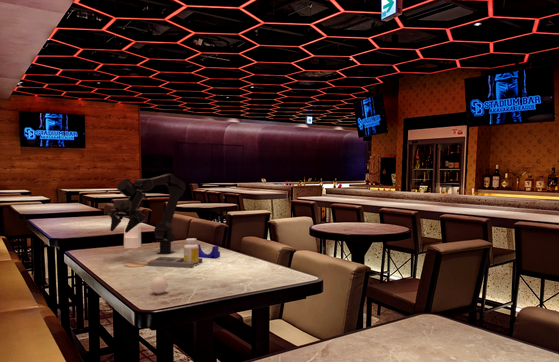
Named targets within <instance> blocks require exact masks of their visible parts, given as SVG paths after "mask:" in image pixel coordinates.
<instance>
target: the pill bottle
mask: <svg viewBox="0 0 559 362" xmlns="http://www.w3.org/2000/svg"><path fill="white" fill-rule="evenodd" d="M185 243H186V244H185V245H183V258H184V262H183V263H194V267H195V266H198V265H199V264H200V263H199V246H198V245H197V238H194V237H193V238H189V237H188V238H186V239H185Z"/></svg>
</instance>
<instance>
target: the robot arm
mask: <svg viewBox="0 0 559 362" xmlns="http://www.w3.org/2000/svg"><path fill="white" fill-rule="evenodd" d="M163 184H165V185H166V186H167V188H168V194H169V196H168V200H167V203H166V207H165V209H164V213H163V215H162V219H161V221H160V222H156V224H155V227H154V229H153V235H154V238H155V241H156V242H159V251H157V252H156V254H160V255H161V254H162V255H163V254H164V255H169V254H172V253H174V252H175V251H174V250H172V243H173V242H175V241H176V235H175V234H174V233H173V225H172V222H173V218H174V216H175V211H176V208H177V206H178V203H179V198H181V197H182V196H183V195H184V194H185V191H186V188H187V185H186V183H185V182H184V181H183V180H182V179H180V178H179V177H177V176H176V175H174V174H173V173H165V174H162V175H159V176H155V177H151V178H140V179H135V180H134V182H132V181H131V180H130V179H129V178H124V179H123V180H122V181H120V182H119V183H118V184H117V185H116V190H118V192H119V193H121V194H122V195H123V196H124V197H126V198H128V199H123V200H113V205H112V209H109V211H108V212H107V214H108V215H109V217H110V219H111V223H110V231H111V232H114V231H115V230H116V228H117V227H118V226H119V225H120V223H121V222H122V220H123V219H124V218H128V223H127V227H126V229H125V232H126V233H127V232H129V231H130V230H131V229H132V228H134V227H135V226H139V224H142V222H143V223H144V222H145V221H146V215H145V214H144V213H143V212H142V211H140V209H141V207H140V204H141V202H142V201H143V200H147V199H148V198H147V195H146V193H145V192H149V191H151V190H153V188H154V187H156V186H159V185H163ZM114 208H115V209H114Z"/></svg>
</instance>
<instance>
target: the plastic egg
mask: <svg viewBox="0 0 559 362" xmlns="http://www.w3.org/2000/svg"><path fill="white" fill-rule="evenodd" d="M149 287H150V290H151V291H152V293H154V294H156V295H157V294H158V295H160V294H162V293H165V292H166V291H167V288H168V281H167V279H166V278H165V277H162V276H156V277H154V278H153V279H152V280H151V282H150V285H149Z"/></svg>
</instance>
